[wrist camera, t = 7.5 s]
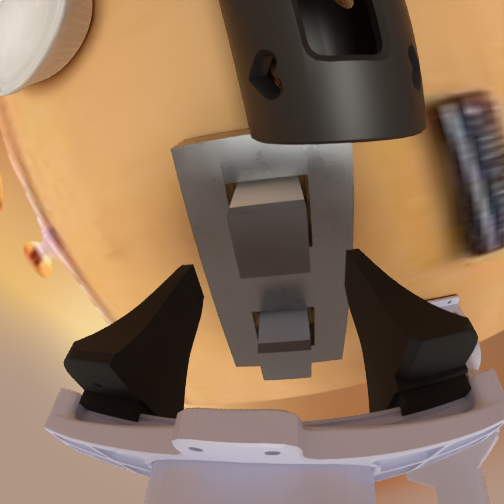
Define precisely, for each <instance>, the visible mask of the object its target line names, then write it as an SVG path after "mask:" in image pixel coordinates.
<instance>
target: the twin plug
mask: <svg viewBox="0 0 504 504" xmlns="http://www.w3.org/2000/svg"><path fill="white" fill-rule="evenodd" d="M257 354H258V358H259V362H260V366H261V370H262V374H263V378H264V380H281V379H296V378H308V377H311V341H310V331H309V322H308V313H307V307H306V308H295V309H283V310H270V311H260V320H259V336H258V352H257Z"/></svg>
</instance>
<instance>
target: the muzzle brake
mask: <svg viewBox="0 0 504 504" xmlns="http://www.w3.org/2000/svg"><path fill="white" fill-rule="evenodd" d="M353 1H354V5H353V7H352V8H350V9H346V8H345V7H344V6H342V5H341V4H339V3H338V2H336V0H219V3H220V7H221V10H222V14H223V18H224V22H225V26H226V30H227V34H228V38H229V43H230V47H231V51H232V55H233V59H234V63H235V68H236V72H237V76H238V80H239V85H240V89H241V93H242V98H243V102H244V107H245V111H246V116H247V120H248V125H249V129H250V134H251V138H252V139H254V140H256V141H258V142H261V143H266V144H278V145H314V144H339V143H355V142H369V141H380V140H390V139H398V138H404V137H409V136H414V135H417V134H419V133H421V132H422V131H423V130H424V129H425V128H426V116H425V104H424V94H423V85H422V77H421V72H420V64H419V58H418V53H417V47H416V43H415V38H414V33H413V29H412V25H411V21H410V17H409V13H408V10H407V6H406V3H405V0H353ZM271 70H273V71H274V74H275V75H276V76H277V77H278V78H279V81H280V85H279V87H278V86H277V85H276V84H275V83H274V82H275V78H274V76H273V75H272V73H271Z"/></svg>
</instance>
